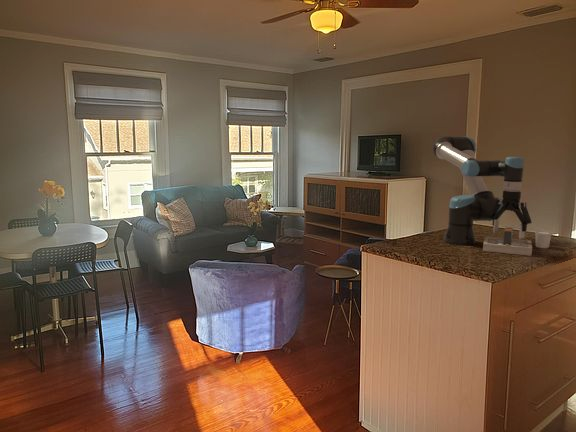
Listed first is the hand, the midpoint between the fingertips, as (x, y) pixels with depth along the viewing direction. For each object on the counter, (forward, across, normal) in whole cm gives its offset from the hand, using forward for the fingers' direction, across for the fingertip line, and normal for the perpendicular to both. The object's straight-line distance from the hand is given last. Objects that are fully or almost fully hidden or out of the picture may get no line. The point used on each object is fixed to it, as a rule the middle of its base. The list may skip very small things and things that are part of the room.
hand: (508, 235), depth 211 cm
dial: (+4, 0, 0) cm, 4 cm away
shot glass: (+7, +4, +20) cm, 22 cm away
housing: (+7, 0, 0) cm, 7 cm away
